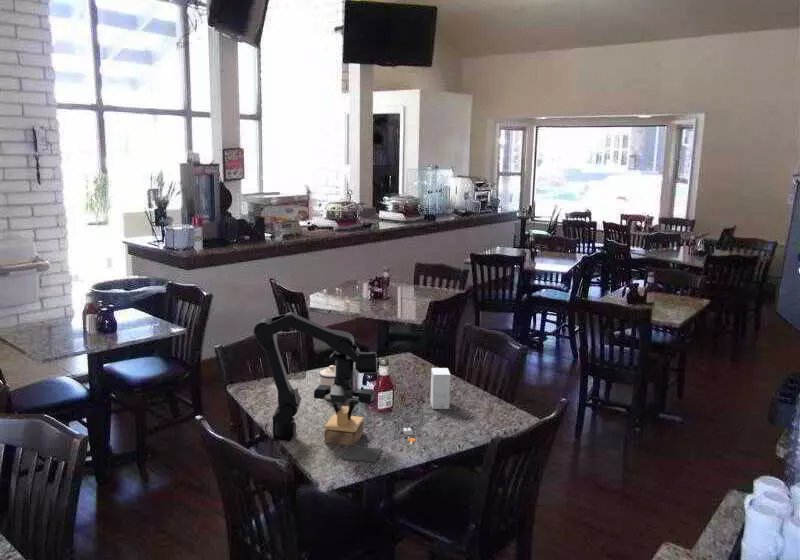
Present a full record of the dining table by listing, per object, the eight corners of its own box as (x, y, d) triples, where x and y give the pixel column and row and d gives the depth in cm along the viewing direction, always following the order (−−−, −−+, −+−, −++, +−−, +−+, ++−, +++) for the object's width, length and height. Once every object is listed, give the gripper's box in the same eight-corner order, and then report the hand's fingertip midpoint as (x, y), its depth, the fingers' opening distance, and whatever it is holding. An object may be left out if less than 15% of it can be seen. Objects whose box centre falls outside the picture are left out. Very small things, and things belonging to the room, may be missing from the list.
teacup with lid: (338, 401, 249) (338, 370, 247) (315, 398, 251) (315, 368, 249) (350, 390, 260) (350, 361, 258) (328, 387, 263) (328, 358, 260)
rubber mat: (343, 459, 202) (343, 457, 202) (351, 446, 211) (351, 445, 210) (375, 463, 200) (375, 461, 200) (382, 450, 209) (382, 448, 209)
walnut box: (324, 442, 213) (324, 430, 212) (333, 430, 223) (333, 418, 222) (355, 445, 211) (355, 433, 211) (363, 433, 221) (363, 421, 220)
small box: (449, 409, 243) (450, 374, 241) (432, 409, 243) (433, 374, 240) (446, 401, 251) (448, 367, 249) (430, 401, 251) (431, 367, 248)
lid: (324, 431, 213) (324, 414, 211) (333, 419, 222) (333, 402, 221) (355, 434, 211) (355, 417, 210) (363, 422, 220) (363, 405, 219)
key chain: (400, 431, 224) (400, 427, 224) (411, 430, 225) (411, 426, 224) (409, 448, 212) (409, 443, 211) (420, 447, 212) (421, 443, 212)
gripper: (308, 378, 207) (308, 426, 210) (366, 383, 203) (366, 432, 206) (319, 367, 218) (319, 412, 221) (375, 372, 214) (374, 418, 217)
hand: (344, 419), depth 216 cm, fingers closed on lid, 3 cm apart
